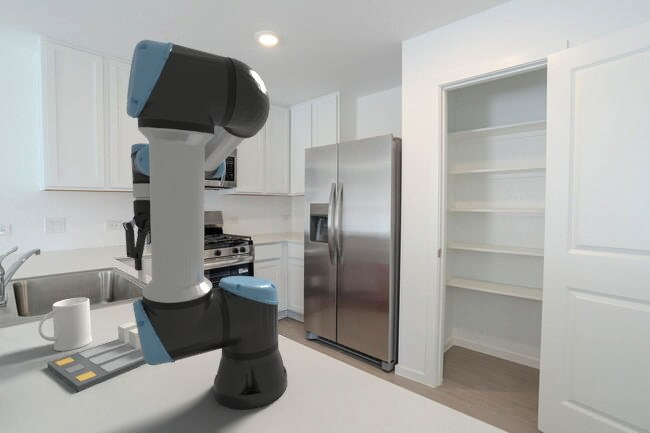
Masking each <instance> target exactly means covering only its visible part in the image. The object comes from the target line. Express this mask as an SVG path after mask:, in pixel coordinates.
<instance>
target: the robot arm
mask: <svg viewBox="0 0 650 433" xmlns="http://www.w3.org/2000/svg"><path fill="white" fill-rule="evenodd" d="M126 100H127V102H126V115H128V117H131V118H133V119H137V130H138V131H139V133H141V135H143V136H144V137H145V138H146V139H147V141H148V143H142V142H141V143H140V142H139V143H134V144H132V145H131V149H130V150H131V152H130V158H131V174H132V197H133V199H135V200H133V201H132V203H133V204H132V205H133V217H132V220H129V221H127V222H123V223H122V227H123V229H124V231H125V250H126V251H125V252H126V257H127V258H131V259H133V260H134V269H135V271H137V273H138V274H137V276H138V277H137V278H138V282H141V283H145V282H147V272H146V271H147V270H146V269H147V268H146V259H145V258H143V255H144V250H145V244H146V240H147V239H146V238H147V236H148V234H149V232H150V248H151V249H150V252H151V255H150V256H151V258H150V259H151V261H150V262H151V280H150V281H149V282H148V283H147V284H146V285H145V286H144V287H143V288H142V293H141V294H142V297H141V298H142V299H140V298H139V299H137V300H135V301H134V302H133V303H132V307H133V308H132V309H133V313H134V319H135V323H136V324H137V329H138V334H139V339H140V344H141V349H142V353H143V357H144V360H145V362H146V364H147V365H150V366H159V365H162V364H167V363H170V364H172V363H175V362H176V361H179V360H183V359H187V358H190V357H195V356H198V355H201V354H206V353H209V352H214V351H217V350H220V349H221V355H220V356H221V357H220V359H219V365H218V368H217V371H216V372H217V373H216V374H215V377H214V379H213V396H214V399H215V400H216V401H217V403H219V404H220V405H222V406H224V407H227V408H231V409H237V410H238V409H239V410H247V409H254V408H259V407H262V406H265V405H268V404H270V403H272V402H274V401H276V400H278V399H279V398H280V397H281V396H282V395H283V394H284V393H285V391H286V390H287V387H288V373H287V372H288V371H287V369H286V367H285V365H284V361H283V358H282V354H281V351H280V349H279V302H280V301H279V300H278V299H279V298H278V291H277V289H278V288H277V285H276V284H275V283H274V282H273V281H272V280H269V279H267V278H263V277H258V276H247V275H245V276H244V275H236V276H235V275H231V276H226V277H222V278H221V279H220V280H219V283H218V286H219V287H214V288H213V283H212V282H211V281H210V280H209V279H208V278H207V277H205V190H206V189H205V179H216V178H217V179H219V178H221V177H223V175H224V172H225V170H226V169H225V168H226V159H227V158H229V156H230V155H231V154H232V153H233V152H234V151H235V150H236V149H237V148H238V146H240V144H242V142H244V141H245V139H246V140H247V139H250V138H252V137H254V136H256V135H257V134H258V133H259V132H261V131H262V129H263V128H264V127H265V125H266V122H267V120H268V118H269V116H270V115H269V114H270V108H271V104H270V97H269V94H268V90H267V87H266V85H265V82H263V80H262V78H261V77H260V75H259V74H258V73H257V72H256V71H255V70H254V69H253V68H252V67H250V66H249V65H248V64H247V63H245V62H243V61H241V60H239V59H237V58H234V57H233V58H232V57H229V56H222V55H218V54H214V53H210V52H206V51H204V50H199V49H195V48H191V47H188V46H184V45H183V46H182V45H179V44H175V43H173V42H160V41H157V40H151V39H143V40H141V41H139V42H137V43H136V44H135V47H134V50H133V54H132V58H131V65H130V72H129V78H128V86H127V96H126ZM136 227H137V231H136V233H137V236H136V239H135V228H136Z"/></svg>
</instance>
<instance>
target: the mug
mask: <svg viewBox="0 0 650 433" xmlns="http://www.w3.org/2000/svg"><path fill="white" fill-rule="evenodd" d="M90 305H91V304H90V298H88V297H73V298H67V299H62V300H59V301H56V302H54V303H53V304H52V310H51V311H49V312H48V313H47V314H45V315H44V316H43V317H42V319H41V320H40V322H39V325H38V333H39V335H40V337H41V338H42V339H44V340H45V341H48V342H54V344H53V350H54V351H57V352H67V351H73V350H78V349H80V348H83V347H86V346H88V345H90V344H91V343H92V342H93V336H92V327H91V326H92V325H91V324H92V323H91V310H90V309H91V306H90ZM51 316H52V318H53V322H52V323H53V336H51V337H49V336H47V335H44V333H43V332H42V331H43V330H42V327H43V325H44V323H45V321H46V320H47V319H48V318H50V317H51Z"/></svg>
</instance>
